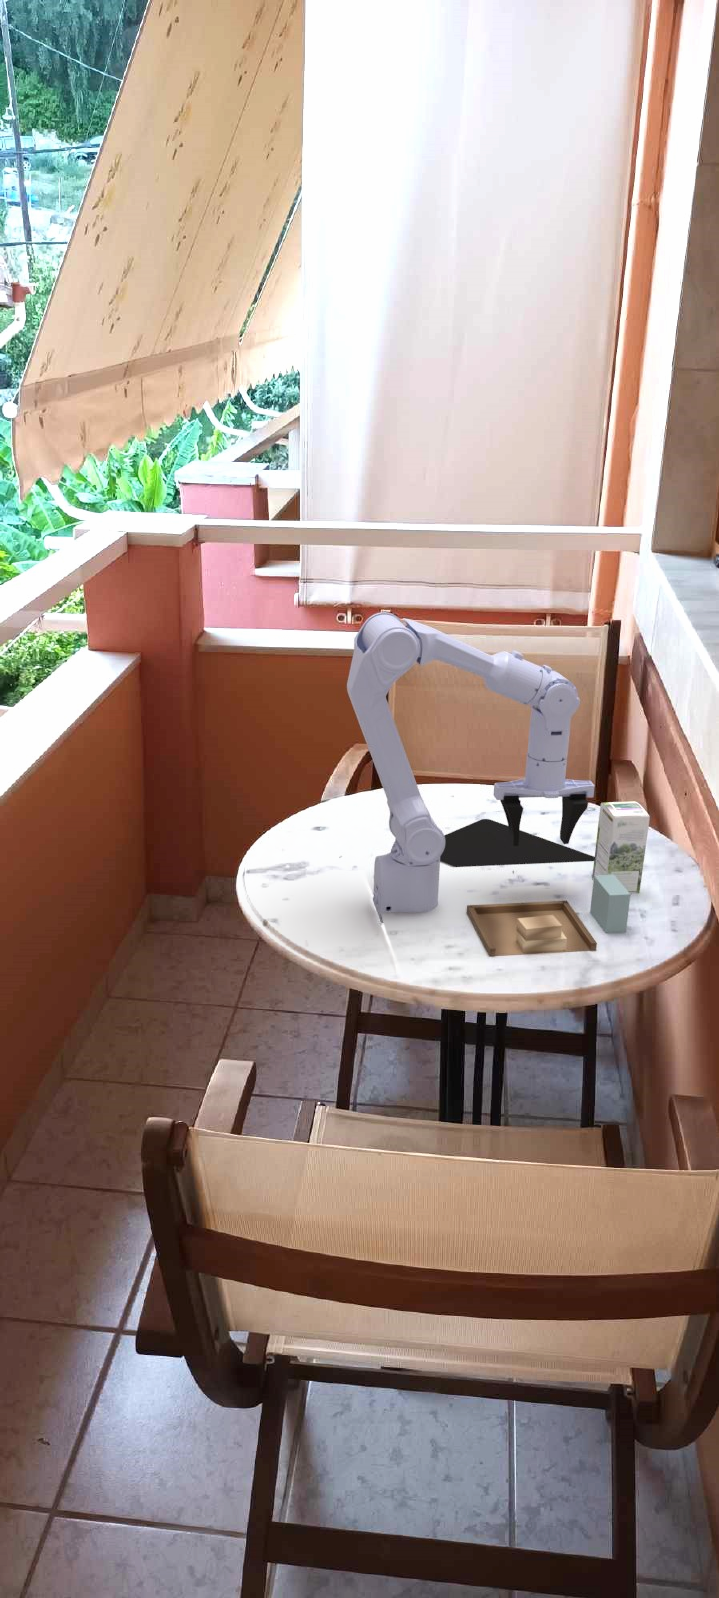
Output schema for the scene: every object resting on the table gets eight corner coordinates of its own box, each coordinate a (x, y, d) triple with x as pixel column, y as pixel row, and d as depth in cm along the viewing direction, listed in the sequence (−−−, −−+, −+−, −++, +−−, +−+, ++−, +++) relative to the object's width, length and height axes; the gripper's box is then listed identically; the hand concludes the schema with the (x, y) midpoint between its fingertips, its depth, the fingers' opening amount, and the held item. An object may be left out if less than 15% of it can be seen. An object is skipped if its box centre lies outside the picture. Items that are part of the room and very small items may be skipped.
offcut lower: (522, 952, 155) (523, 940, 154) (516, 940, 158) (517, 929, 158) (565, 950, 156) (566, 938, 155) (557, 938, 159) (558, 926, 158)
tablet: (410, 849, 190) (484, 817, 203) (410, 852, 190) (484, 821, 204) (545, 902, 173) (616, 864, 186) (545, 906, 173) (616, 868, 187)
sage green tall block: (604, 940, 161) (609, 895, 159) (589, 918, 167) (594, 875, 165) (625, 939, 162) (630, 894, 159) (609, 917, 168) (613, 874, 165)
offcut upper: (525, 941, 154) (526, 929, 154) (516, 930, 157) (517, 918, 157) (561, 937, 156) (562, 925, 155) (551, 926, 159) (552, 914, 158)
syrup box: (625, 885, 179) (635, 799, 174) (639, 902, 174) (650, 813, 168) (590, 887, 178) (599, 800, 173) (603, 904, 173) (613, 815, 168)
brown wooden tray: (488, 965, 155) (489, 948, 154) (465, 921, 167) (467, 905, 166) (595, 959, 157) (596, 943, 156) (565, 916, 169) (566, 900, 168)
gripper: (505, 765, 160) (498, 854, 165) (605, 763, 162) (595, 851, 167) (492, 749, 166) (486, 835, 171) (588, 747, 168) (579, 832, 173)
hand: (539, 842), depth 169 cm, fingers open, 7 cm apart
